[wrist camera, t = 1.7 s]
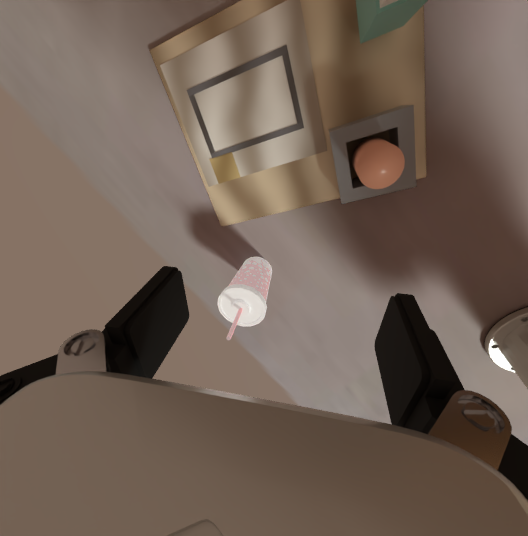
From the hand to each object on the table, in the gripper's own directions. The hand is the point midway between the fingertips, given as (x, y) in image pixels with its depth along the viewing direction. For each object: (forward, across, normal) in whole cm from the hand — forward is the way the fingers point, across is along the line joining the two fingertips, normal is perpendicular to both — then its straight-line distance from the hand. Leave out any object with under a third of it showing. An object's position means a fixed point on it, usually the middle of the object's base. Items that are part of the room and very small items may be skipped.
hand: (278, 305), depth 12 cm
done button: (+20, -6, -3) cm, 21 cm away
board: (+23, +2, -7) cm, 24 cm away
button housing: (+22, -6, -3) cm, 24 cm away
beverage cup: (+23, +6, +13) cm, 28 cm away
